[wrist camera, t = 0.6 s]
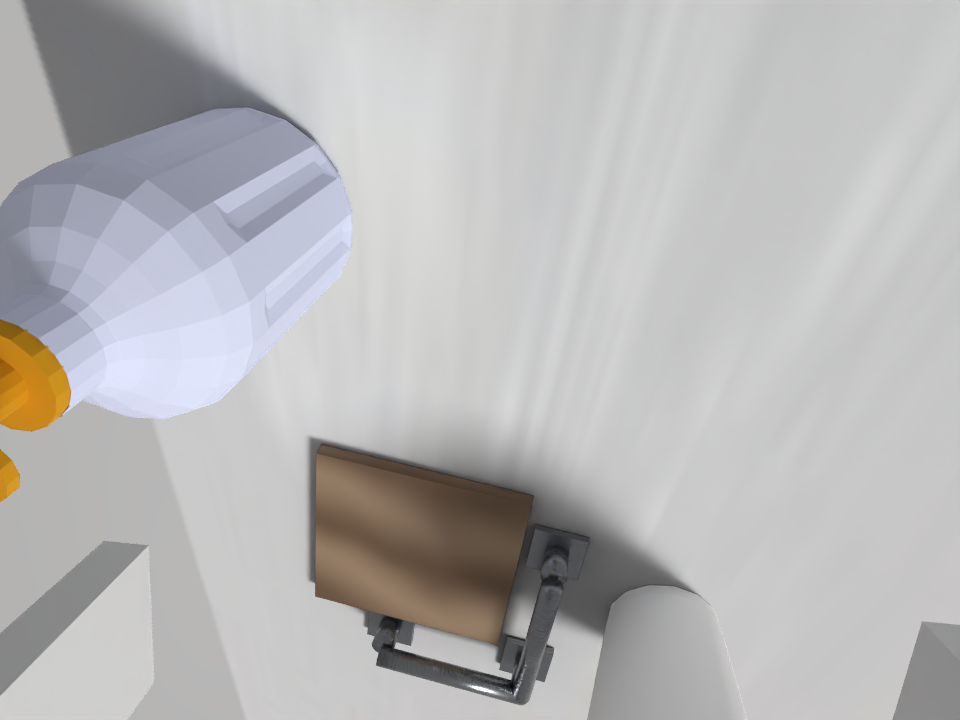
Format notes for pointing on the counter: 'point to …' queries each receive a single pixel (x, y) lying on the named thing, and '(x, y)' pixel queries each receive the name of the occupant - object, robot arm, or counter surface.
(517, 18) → the counter surface
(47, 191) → the soap bottle
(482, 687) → the rail
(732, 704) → the foam cup
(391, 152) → the counter surface
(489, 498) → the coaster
